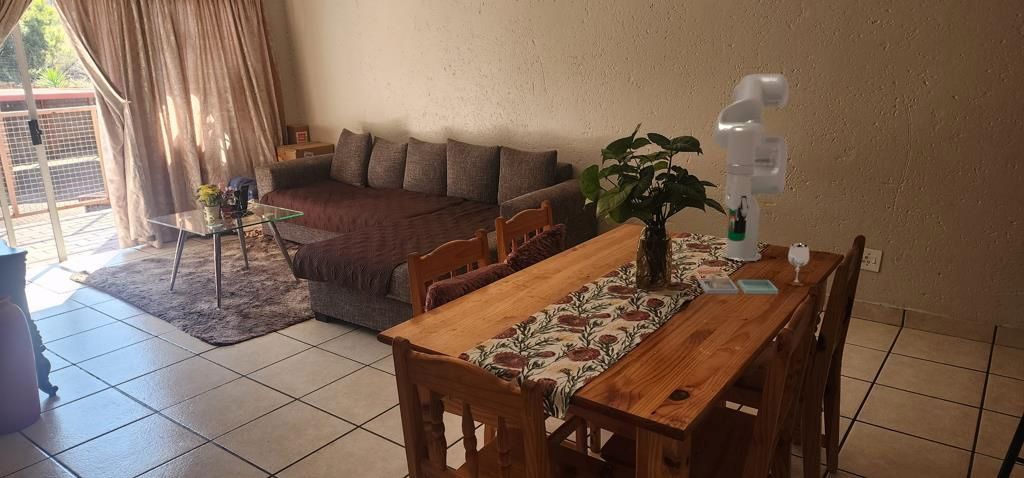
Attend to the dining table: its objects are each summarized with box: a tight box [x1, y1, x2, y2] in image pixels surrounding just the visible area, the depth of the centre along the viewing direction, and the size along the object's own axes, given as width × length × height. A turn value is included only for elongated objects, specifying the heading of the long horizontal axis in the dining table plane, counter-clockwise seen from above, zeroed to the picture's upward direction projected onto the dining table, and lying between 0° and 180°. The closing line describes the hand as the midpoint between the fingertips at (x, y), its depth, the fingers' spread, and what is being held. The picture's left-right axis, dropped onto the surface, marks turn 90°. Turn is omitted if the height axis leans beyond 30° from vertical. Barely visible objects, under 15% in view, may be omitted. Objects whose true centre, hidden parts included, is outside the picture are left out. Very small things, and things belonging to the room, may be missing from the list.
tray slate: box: [699, 279, 739, 295], centre depth 193 cm, size 9×9×2 cm
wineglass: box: [787, 242, 810, 282], centre depth 196 cm, size 6×6×12 cm
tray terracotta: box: [693, 269, 731, 284], centre depth 203 cm, size 9×9×2 cm
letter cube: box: [709, 273, 730, 289], centre depth 193 cm, size 4×4×4 cm
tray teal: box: [737, 279, 779, 295], centre depth 192 cm, size 9×9×2 cm
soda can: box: [726, 207, 747, 241], centre depth 193 cm, size 5×5×12 cm
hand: (736, 230), depth 194 cm, fingers closed on soda can, 5 cm apart
